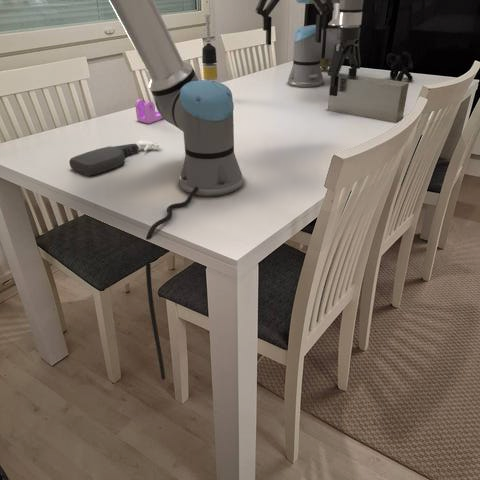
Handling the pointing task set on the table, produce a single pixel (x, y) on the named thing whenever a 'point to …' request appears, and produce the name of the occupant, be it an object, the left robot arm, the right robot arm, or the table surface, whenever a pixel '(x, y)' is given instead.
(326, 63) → the cup
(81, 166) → the spray bottle
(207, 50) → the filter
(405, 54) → the squiggle
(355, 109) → the box
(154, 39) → the left robot arm
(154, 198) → the table surface
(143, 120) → the bracket
